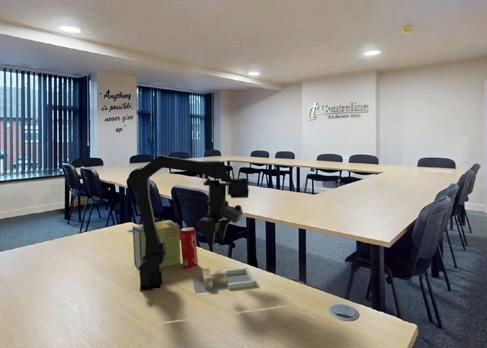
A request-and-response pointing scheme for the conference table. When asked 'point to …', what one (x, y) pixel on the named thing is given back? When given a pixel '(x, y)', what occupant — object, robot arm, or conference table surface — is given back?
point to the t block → (213, 277)
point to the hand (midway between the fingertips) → (216, 243)
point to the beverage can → (189, 248)
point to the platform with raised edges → (228, 281)
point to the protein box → (165, 231)
